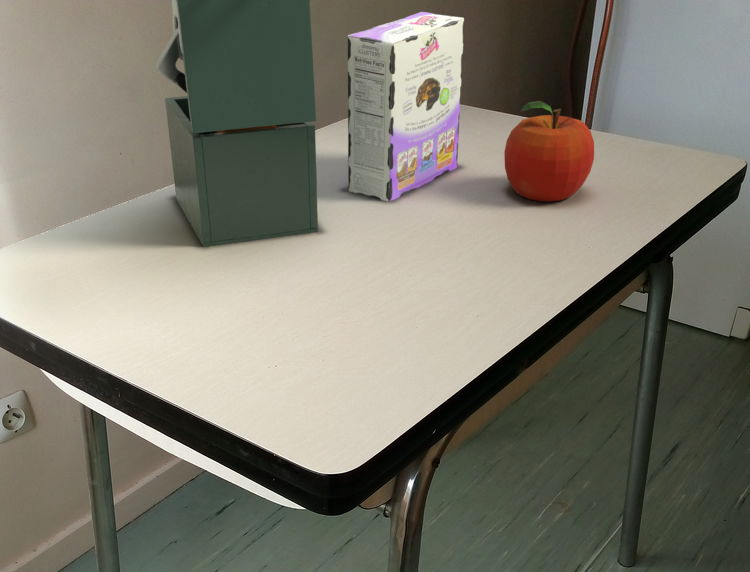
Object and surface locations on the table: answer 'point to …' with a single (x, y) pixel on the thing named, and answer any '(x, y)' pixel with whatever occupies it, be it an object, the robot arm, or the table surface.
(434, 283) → the table surface
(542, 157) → the fruit
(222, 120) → the bin lid
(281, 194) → the bin
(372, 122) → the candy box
